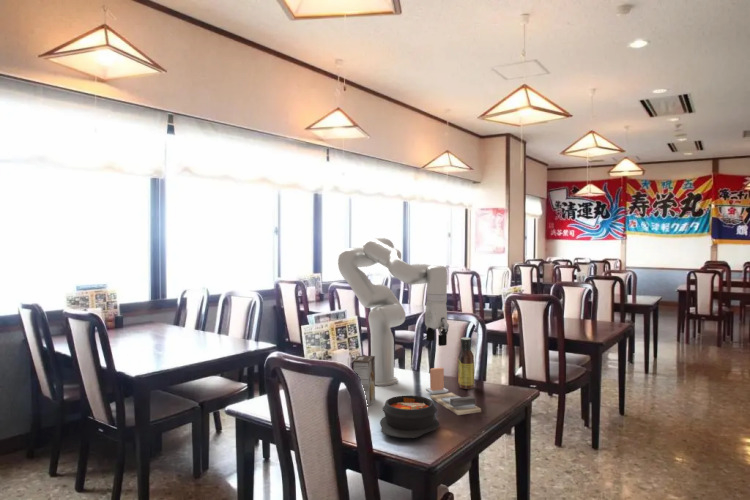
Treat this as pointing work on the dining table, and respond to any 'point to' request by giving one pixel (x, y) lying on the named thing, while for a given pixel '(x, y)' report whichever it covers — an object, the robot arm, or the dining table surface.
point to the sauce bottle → (466, 365)
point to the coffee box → (366, 375)
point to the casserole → (408, 416)
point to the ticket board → (459, 412)
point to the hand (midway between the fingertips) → (436, 342)
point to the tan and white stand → (436, 381)
